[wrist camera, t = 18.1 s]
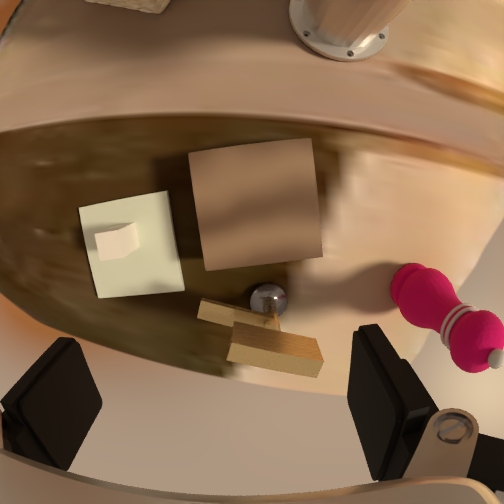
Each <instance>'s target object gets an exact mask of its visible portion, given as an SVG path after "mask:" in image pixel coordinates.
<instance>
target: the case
mask: <svg viewBox="0 0 504 504" xmlns="http://www.w3.org/2000/svg"><path fill="white" fill-rule="evenodd" d="M188 156H189V164H190V171H191V178H192V186H193V193H194V199H195V206H196V213H197V219H198V226H199V232H200V238H201V245H202V251H203V257H204V263H205V268H206V271H211V270H219V269H228V268H236V267H245V266H253V265H261V264H270V263H278V262H286V261H294V260H302V259H310V258H318V257H323V254H322V241H321V228H320V216H319V205H318V195H317V185H316V176H315V167H314V158H313V150H312V142H311V138H304V139H292V140H282V141H272V142H263V143H254V144H246V145H238V146H231V147H224V148H217V149H210V150H204V151H198V152H192V153H188Z"/></svg>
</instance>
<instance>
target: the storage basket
mask: <svg viewBox="0 0 504 504" xmlns="http://www.w3.org/2000/svg"><path fill="white" fill-rule="evenodd" d="M85 1H87V2H91V3H99V4H105V5H111V6H115V7H124V8H127V9H133V10H139V11H141V12H146V13H155V14H160V13H161V12H163V11H164V10H165V8H166V6H167V5H168V3H169V2H170V1H171V0H85Z"/></svg>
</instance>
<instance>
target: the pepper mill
mask: <svg viewBox="0 0 504 504" xmlns="http://www.w3.org/2000/svg"><path fill="white" fill-rule="evenodd" d="M391 296H392V299H393V301H394V302H395V303H396V304H397V305H398V306H399V308H400V311H401V314H402V315H403V317H404V318H405V319H406V320H407V321H408V322H410V323H411V324H413V325H415V326H417V327H420V328H428V329H433V330H435V331H437V332H438V333H439V334H440V337H441V341H442V343H443V344H444V345H445V346H446V347H447V348H448V349H449V350H450V353H451V357H452V360H453V361H454V363H455V364H456V365H457V366H458V367H459V368H460V369H462V370H464V371H466V372H469V373H477V372H481V371H484V370H486V369H487V368H489V367H491V368H494V369H497V368H500V367H501V366H502V365H503V364H504V351H503V347H504V326H503V324H502V322H501V321H500V319H499V318H498V317H497V316H496V315H494V314H493V313H491V312H489V311H486V310H479V309H478V308H475V307H474V306H473V305H472V304H469V303H464V304H463V303H461V302H460V301H459V299H458V298H457V296H456V294H455V291H454V289H453V286H452V284H451V283H450V281H449V280H448V278H447V277H446V276H445V275H444V274H442V273H441V272H440V271H438V270H436V269H432V268H426V267H424V266H423V265H421V264H417V263H412V264H408V265H405V266H404V267H402V268H401V269H400V270H399V271H398V272H397V273H396V275H395V276H394V278H393V280H392V283H391Z"/></svg>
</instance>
